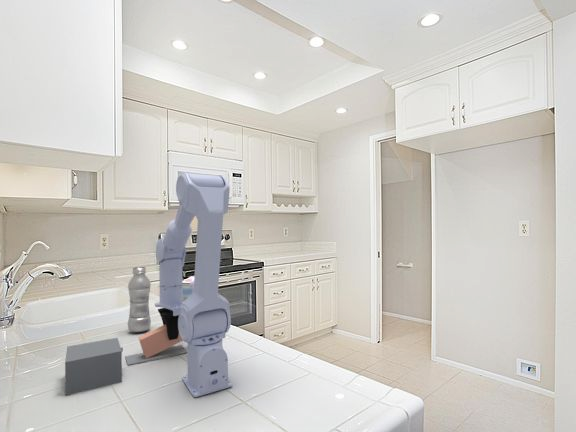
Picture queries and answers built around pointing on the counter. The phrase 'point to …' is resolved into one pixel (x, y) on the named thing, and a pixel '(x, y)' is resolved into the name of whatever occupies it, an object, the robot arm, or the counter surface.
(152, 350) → the tall peach block
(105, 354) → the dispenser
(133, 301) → the plastic bottle
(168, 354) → the pad
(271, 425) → the counter surface
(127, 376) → the counter surface
